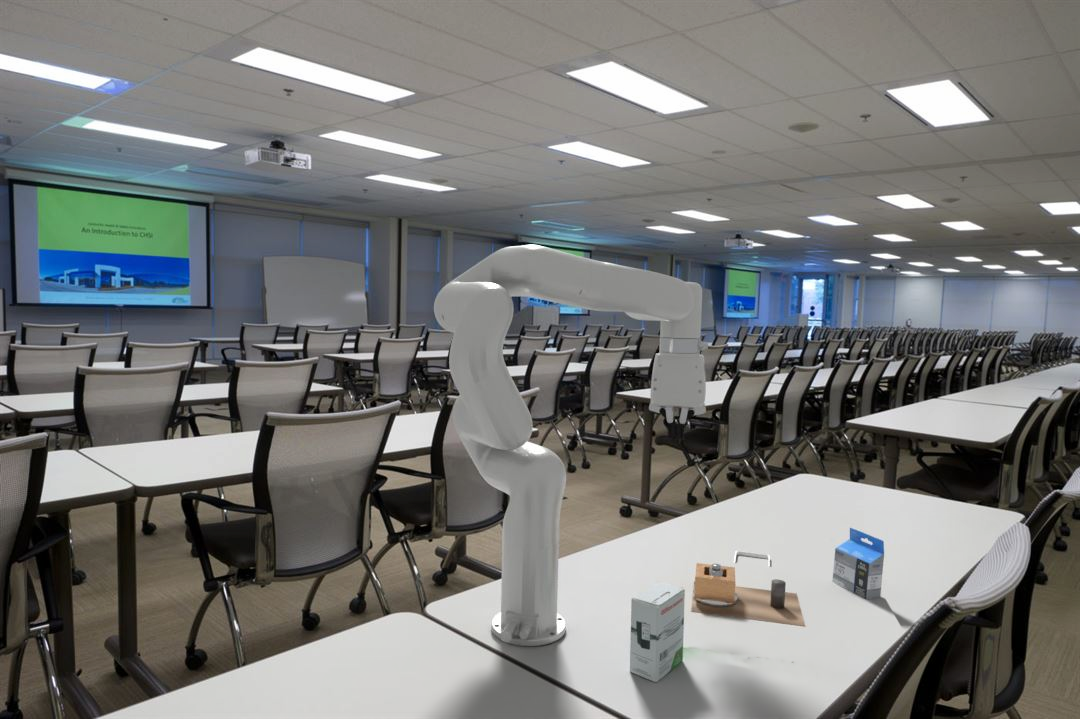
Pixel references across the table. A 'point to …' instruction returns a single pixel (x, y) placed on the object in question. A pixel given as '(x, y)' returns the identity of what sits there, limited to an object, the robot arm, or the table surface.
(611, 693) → the table surface
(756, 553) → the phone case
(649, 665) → the ink box
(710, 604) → the steel hub
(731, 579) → the wooden square washer
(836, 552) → the label tape box
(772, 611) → the walnut board
